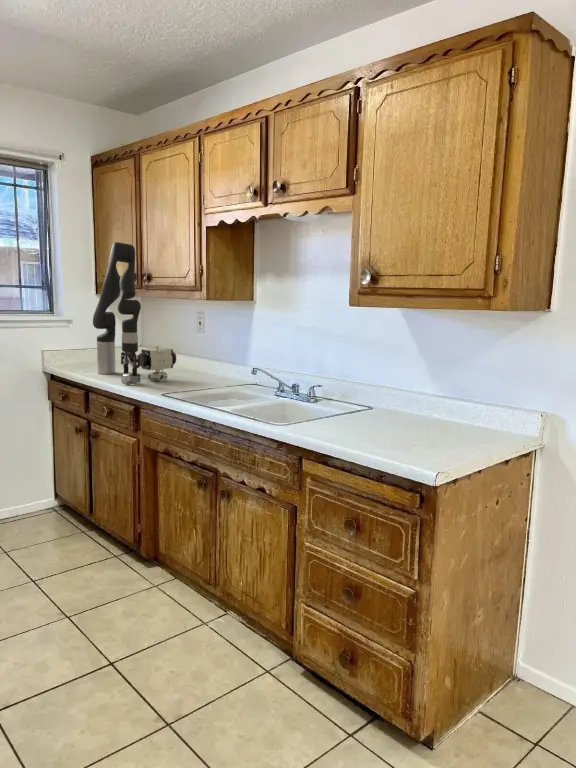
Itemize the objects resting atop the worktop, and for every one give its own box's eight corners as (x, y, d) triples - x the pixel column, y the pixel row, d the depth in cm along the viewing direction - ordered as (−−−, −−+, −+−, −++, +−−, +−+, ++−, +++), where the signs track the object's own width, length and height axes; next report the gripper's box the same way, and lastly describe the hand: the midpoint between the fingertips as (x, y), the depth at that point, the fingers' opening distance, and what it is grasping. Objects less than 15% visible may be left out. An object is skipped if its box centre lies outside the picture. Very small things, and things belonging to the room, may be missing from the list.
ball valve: (146, 384, 280) (145, 347, 277) (137, 381, 286) (137, 346, 283) (178, 380, 292) (177, 346, 289) (169, 378, 298) (169, 344, 295)
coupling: (120, 384, 278) (120, 373, 277) (135, 382, 283) (135, 371, 282) (126, 385, 274) (126, 374, 273) (141, 384, 280) (141, 373, 279)
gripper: (115, 340, 278) (116, 373, 281) (129, 343, 268) (130, 377, 270) (129, 340, 283) (130, 372, 286) (144, 342, 273) (144, 376, 275)
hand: (130, 374), depth 278 cm, fingers open, 8 cm apart
